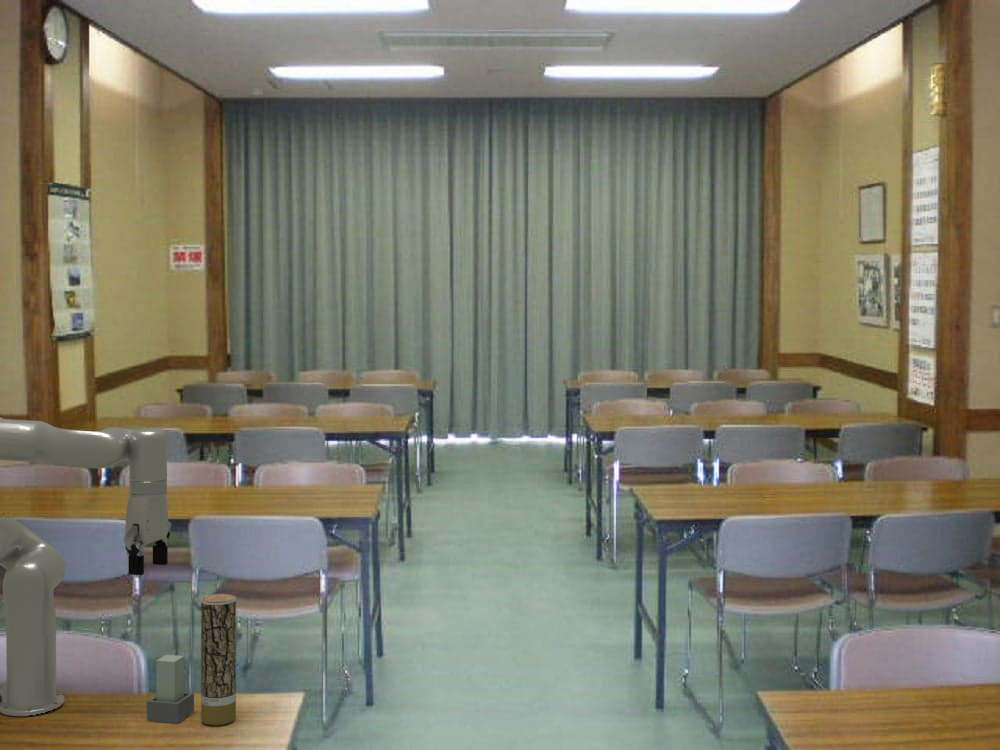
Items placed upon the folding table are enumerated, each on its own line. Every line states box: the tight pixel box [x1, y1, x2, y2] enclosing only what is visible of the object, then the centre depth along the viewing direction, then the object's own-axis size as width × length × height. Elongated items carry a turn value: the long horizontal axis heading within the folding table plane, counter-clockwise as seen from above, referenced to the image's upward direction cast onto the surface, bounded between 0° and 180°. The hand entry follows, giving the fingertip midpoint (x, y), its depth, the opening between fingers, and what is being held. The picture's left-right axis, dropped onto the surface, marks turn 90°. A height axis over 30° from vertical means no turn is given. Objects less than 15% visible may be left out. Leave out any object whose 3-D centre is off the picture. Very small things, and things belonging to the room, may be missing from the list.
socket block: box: [146, 691, 195, 725], centre depth 225 cm, size 7×7×4 cm
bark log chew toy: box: [200, 593, 237, 727], centre depth 222 cm, size 7×7×25 cm
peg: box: [155, 654, 185, 703], centre depth 225 cm, size 4×4×12 cm
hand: (148, 569), depth 232 cm, fingers open, 9 cm apart
